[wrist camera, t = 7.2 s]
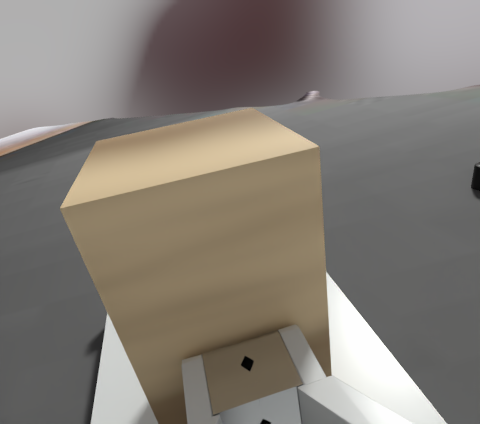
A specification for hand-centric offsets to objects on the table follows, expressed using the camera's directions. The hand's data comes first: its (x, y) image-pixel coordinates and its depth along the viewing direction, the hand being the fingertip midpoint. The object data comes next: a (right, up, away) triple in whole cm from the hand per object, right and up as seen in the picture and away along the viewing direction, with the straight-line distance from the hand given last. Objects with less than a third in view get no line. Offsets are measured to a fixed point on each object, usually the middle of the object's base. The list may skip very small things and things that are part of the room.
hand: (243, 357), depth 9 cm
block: (0, -3, +5) cm, 6 cm away
